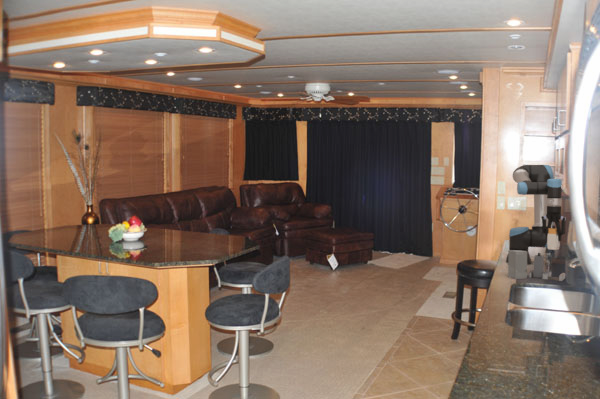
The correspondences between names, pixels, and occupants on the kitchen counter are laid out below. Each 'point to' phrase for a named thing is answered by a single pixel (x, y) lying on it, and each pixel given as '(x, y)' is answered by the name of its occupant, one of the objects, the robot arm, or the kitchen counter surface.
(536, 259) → the twin plug
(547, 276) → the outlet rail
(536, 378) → the kitchen counter surface
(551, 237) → the plug
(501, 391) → the kitchen counter surface
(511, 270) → the skincare box
